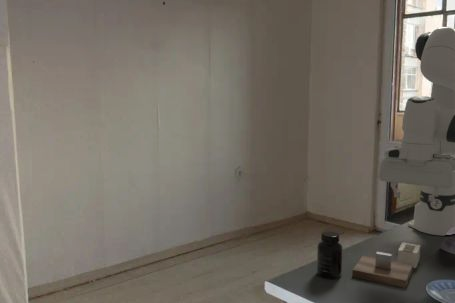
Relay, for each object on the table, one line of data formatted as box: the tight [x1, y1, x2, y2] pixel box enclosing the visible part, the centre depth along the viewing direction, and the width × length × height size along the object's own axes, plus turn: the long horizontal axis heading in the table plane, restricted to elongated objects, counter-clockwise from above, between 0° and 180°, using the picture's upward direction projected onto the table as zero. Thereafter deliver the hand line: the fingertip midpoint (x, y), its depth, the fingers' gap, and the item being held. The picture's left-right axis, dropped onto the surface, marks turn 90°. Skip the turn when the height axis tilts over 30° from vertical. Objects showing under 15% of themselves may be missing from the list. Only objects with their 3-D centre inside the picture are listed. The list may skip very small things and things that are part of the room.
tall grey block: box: [375, 251, 393, 270], centre depth 127 cm, size 2×4×4 cm, turn 60°
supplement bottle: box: [316, 230, 343, 280], centre depth 127 cm, size 7×7×12 cm
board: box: [352, 255, 413, 289], centre depth 128 cm, size 12×14×2 cm
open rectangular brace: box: [396, 241, 421, 269], centre depth 136 cm, size 8×5×5 cm
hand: (413, 199), depth 133 cm, fingers open, 8 cm apart
